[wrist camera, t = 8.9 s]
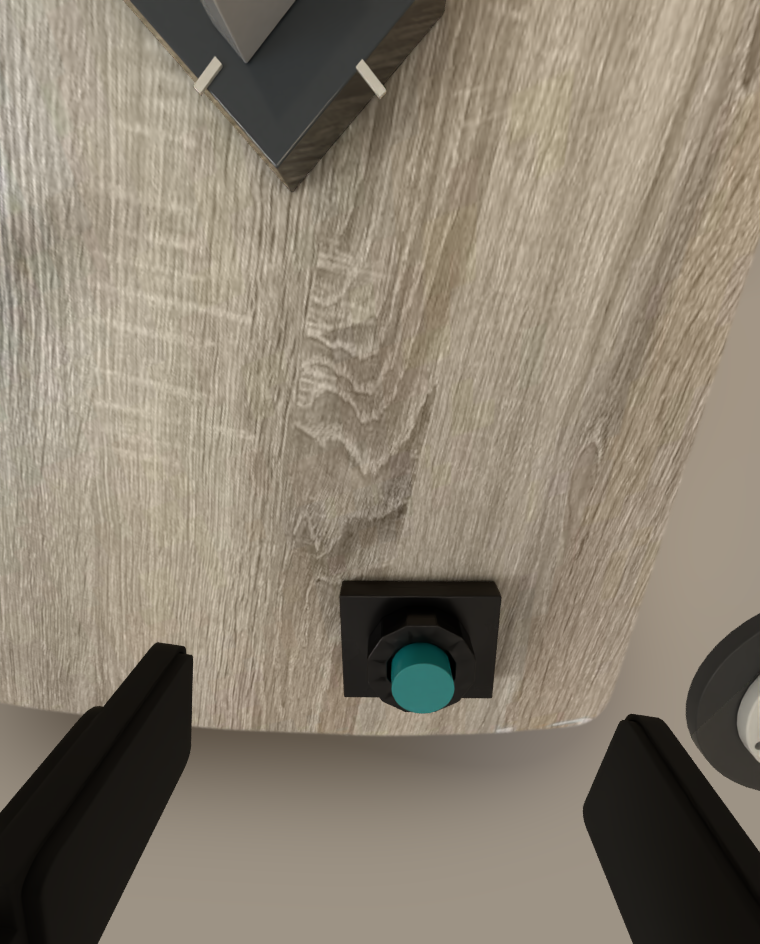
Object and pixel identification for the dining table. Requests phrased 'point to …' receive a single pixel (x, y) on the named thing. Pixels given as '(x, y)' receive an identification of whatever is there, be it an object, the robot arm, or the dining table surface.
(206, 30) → the tap plate
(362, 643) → the button block
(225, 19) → the tap handle
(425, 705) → the button
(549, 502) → the dining table surface
